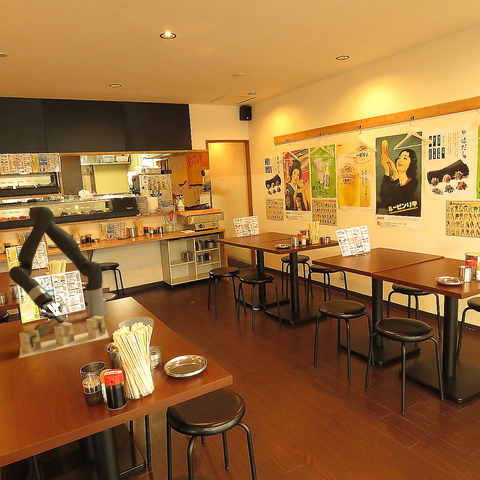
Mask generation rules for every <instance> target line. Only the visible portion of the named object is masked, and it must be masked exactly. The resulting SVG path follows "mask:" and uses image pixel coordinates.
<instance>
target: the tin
mask: <svg viewBox="0 0 480 480" xmlns="http://www.w3.org/2000/svg"><path fill="white" fill-rule="evenodd" d="M58 324H60V323H58V322H57V320H56V319H54V318H52V319H48V320H46V321H42V322H39V323H38V324H37V325H35V328H34V330H38V331H39V337H40V339H42V338H45V337H47V336H50V335H52V334H55V331H54V326H56V325H58Z"/></svg>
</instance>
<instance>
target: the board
mask: <svg viewBox="0 0 480 480" xmlns="http://www.w3.org/2000/svg"><path fill="white" fill-rule="evenodd" d="M105 330H106V334H104V335H102V336H100V337H98V338H93V337H89V336H88V332H84V333H80V334H74V340H75V341H73V342H71V343H69V344H66V345H60V344H56V339H52V340H47V341H43V342H42V341H41V342H40V344H41V349H38V350H36V351H34V352H31V353H26V352H23V351H22V348H21V347H20V350H19V355H18V359H20V358H25V357H29V356H33V355H38V354H43V353H49V352H51V351H55V350H59V349H60V350H61V349H64V348H69V347H73V346H77V345H82V344H86V343H90V342H95V341H99V340H104V339H108V338H110V335H109V333H108V330H107V328H105Z"/></svg>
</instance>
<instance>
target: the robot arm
mask: <svg viewBox="0 0 480 480" xmlns="http://www.w3.org/2000/svg"><path fill="white" fill-rule="evenodd" d="M28 216H29V219H30V221H31V222H32V223H33V227H32V229H31V231H30V233H29V235H28V236H27V237H26V239H25V241H24V242H23V243H22V245H21V248H20V251H19V253H18V256H17V260H18V261H19V265H18V266H17V265H16V266H13V267H11V268H10V269H9V272H8V276H9V278H10V279H11V280H12V281H13V282H14V283H15V284H16V285H17V286H19V287H20V288H21V289H22V290H23V291H24V292H25V293H26V294H27V296H28V298H30V299H31V301H32V302H33V303H34V304H35V305H36V306H37V308H38V309H40V311H41V312H40V313H39V316H40V317H43V318H47V319H48V320H50V319H53V318H54V319H56V320H57V322H58V323H60V324H61V323H63V322H65V318H64V317H63V316H62V315H61V314H62V313H63V303H62V302H60V303H58V302H56V301H55V300H54V299H53V297H52V296H51V295H50V294H49V292H48V291H47V290H46V289H45V288H44V287H43V286H42V285H41V284H40V283H39V282H38V281H37V280H36V279H35V278H32V277H31V275H32V271H33V261H34V259H35V257H36V254H37V252H38V251H37V250H38V248H39V246H40V243H41V241H42V239H43V237H44V235H45V234H46V235H47V237H48V238H49V239H50V240H51V241H52V243H53V244H54V245H55V246H56V247H57V248H58V249H59V251H60V252H62V253H63V254H64V255H65V256H66V258H68V259H69V260H70V261H71V263H73V265H74V266H75V267H76V269H77V270H78V271H79V273H80V274H81V275H82V276H83V277H86V278H87V283H86V284H85V285H84V289H85V290H84V291H85V296H86V304H87V312H88V319H89V318H91V317H94V316H101V317H104V318H105V317H106V315H108V312H107V305H106V304H107V303H106V299H105V298H104V294H103V293H104V291H103V286H102V285H103V282H104V281H103V270H102V266H101V264H100V263H98V262H96V261H90V260H89V259H87V258H86V256H84V254H83V253H82V252H81V249H80V248H81V247H80V246H79V243H78V242H77V241H76V239H74V237H73V236H72V235H71V234H70V233H68V231H67V230H65V229H64V228H62V227H60V226H59V225H57V224H56V223H55V222H54V220H53V218H54V213H53V211H52V210H51V209H50V208H49V207H47V206H34V207H32V208H30V210H29V211H28Z"/></svg>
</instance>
